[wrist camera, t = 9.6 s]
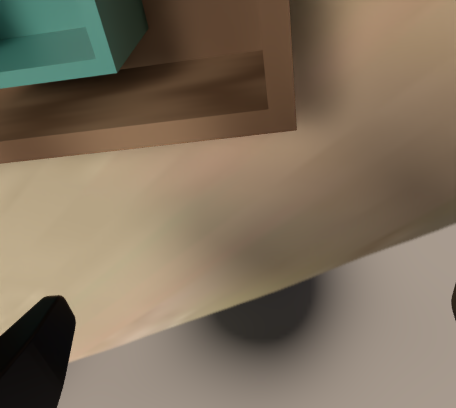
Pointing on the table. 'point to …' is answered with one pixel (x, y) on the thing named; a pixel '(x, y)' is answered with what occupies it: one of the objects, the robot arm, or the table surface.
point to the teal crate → (66, 38)
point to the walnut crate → (166, 86)
